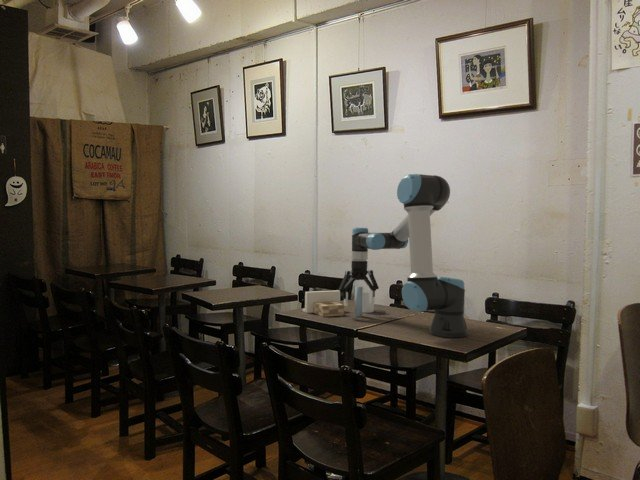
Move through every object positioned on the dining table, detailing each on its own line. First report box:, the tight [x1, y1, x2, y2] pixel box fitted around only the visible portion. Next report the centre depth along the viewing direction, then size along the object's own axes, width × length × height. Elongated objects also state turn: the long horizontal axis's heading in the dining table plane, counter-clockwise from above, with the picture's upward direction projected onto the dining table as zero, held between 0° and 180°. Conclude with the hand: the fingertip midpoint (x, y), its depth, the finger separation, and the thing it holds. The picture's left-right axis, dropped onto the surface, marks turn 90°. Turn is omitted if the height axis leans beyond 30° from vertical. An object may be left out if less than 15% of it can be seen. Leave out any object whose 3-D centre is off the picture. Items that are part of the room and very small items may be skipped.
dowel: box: [354, 285, 364, 318], centre depth 251 cm, size 3×3×14 cm
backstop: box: [302, 289, 341, 314], centre depth 263 cm, size 5×18×10 cm, turn 114°
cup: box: [362, 289, 375, 314], centre depth 266 cm, size 8×12×10 cm
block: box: [314, 301, 345, 318], centre depth 256 cm, size 11×11×5 cm
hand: (358, 304), depth 251 cm, fingers open, 13 cm apart
